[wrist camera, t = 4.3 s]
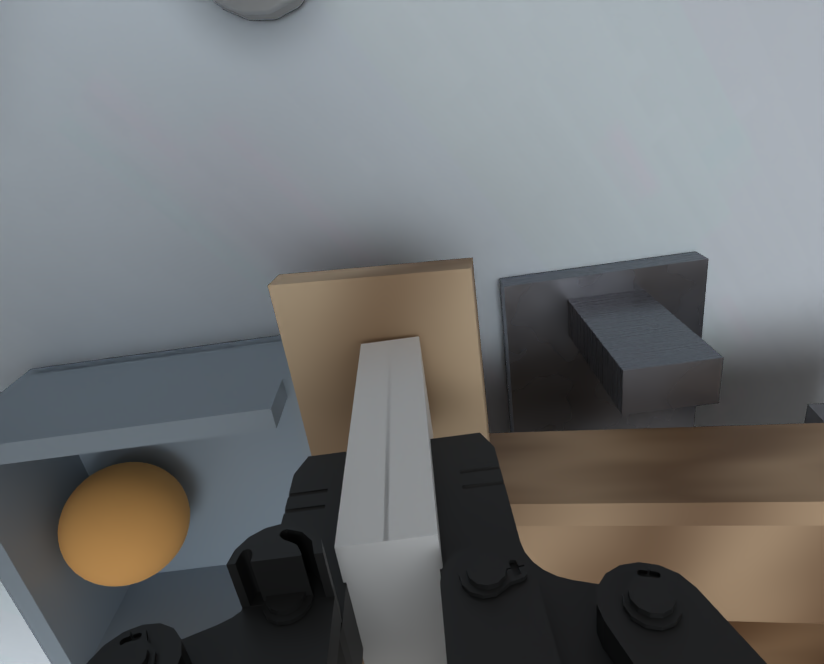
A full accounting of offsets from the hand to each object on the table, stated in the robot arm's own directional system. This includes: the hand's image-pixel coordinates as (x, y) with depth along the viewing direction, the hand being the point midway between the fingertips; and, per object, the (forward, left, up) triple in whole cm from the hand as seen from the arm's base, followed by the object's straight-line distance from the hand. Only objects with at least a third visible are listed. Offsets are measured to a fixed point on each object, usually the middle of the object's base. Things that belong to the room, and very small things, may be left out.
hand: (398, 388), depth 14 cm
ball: (-13, -8, -6) cm, 17 cm away
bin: (-10, -8, -10) cm, 16 cm away
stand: (+8, -8, -10) cm, 15 cm away
